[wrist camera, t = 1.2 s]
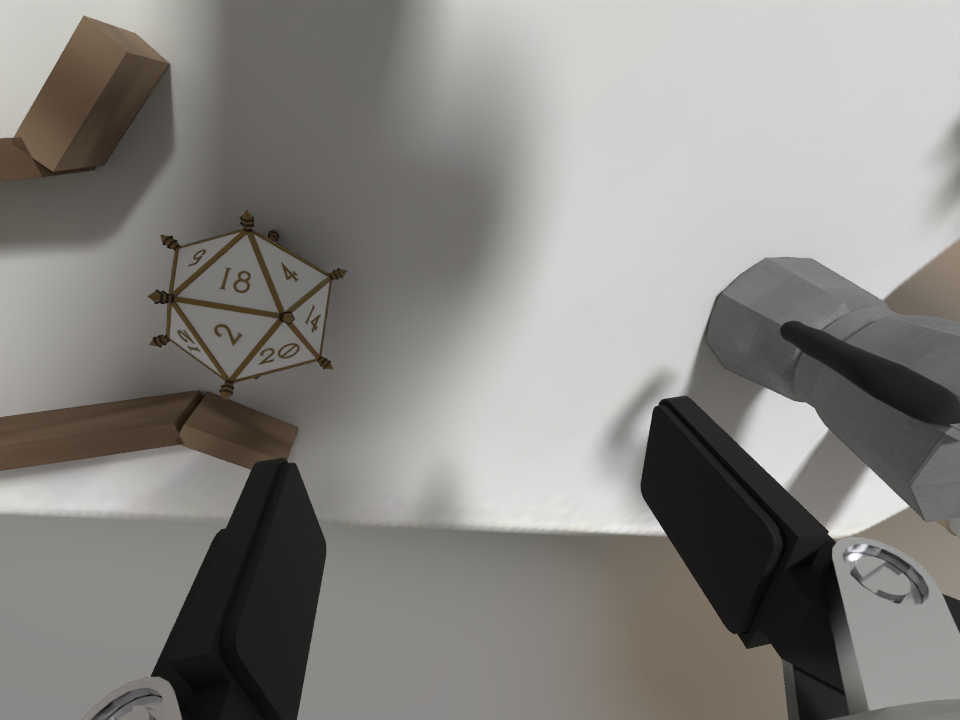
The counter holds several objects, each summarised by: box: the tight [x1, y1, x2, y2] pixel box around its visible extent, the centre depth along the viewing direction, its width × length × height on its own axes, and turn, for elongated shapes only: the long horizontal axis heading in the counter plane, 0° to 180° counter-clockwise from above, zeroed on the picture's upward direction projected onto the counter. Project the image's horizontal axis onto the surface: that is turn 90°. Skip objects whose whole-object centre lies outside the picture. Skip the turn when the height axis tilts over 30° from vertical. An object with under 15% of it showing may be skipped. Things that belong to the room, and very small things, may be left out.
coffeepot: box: [706, 257, 960, 522], centre depth 23 cm, size 15×9×18 cm, turn 64°
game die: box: [148, 210, 347, 401], centre depth 21 cm, size 9×8×10 cm
